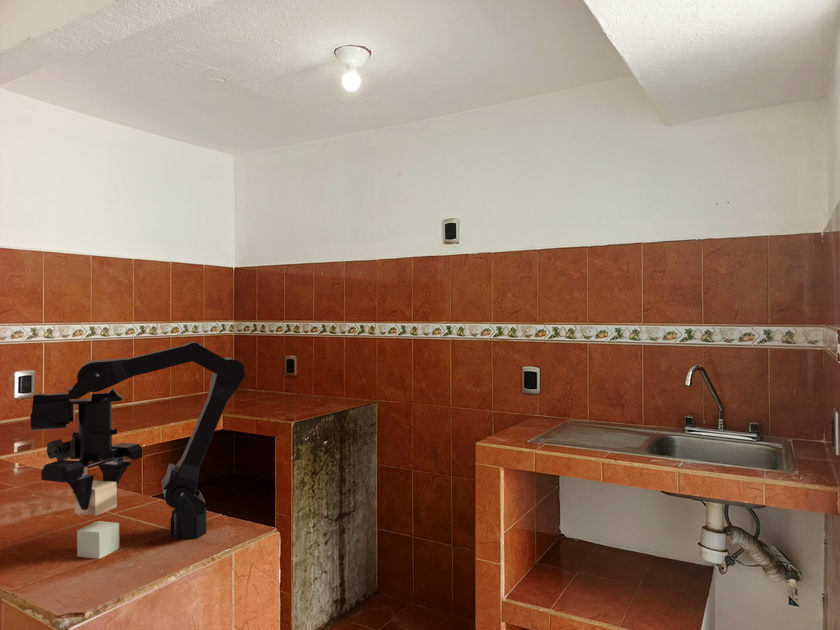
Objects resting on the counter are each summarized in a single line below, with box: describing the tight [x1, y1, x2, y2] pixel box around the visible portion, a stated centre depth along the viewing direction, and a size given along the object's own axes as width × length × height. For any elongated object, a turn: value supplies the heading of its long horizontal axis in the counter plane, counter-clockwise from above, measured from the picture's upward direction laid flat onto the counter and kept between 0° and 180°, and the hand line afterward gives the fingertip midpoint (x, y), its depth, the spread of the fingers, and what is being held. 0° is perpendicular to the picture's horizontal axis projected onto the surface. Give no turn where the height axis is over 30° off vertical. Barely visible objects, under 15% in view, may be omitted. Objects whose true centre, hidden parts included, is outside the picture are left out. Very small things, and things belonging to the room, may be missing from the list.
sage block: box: [76, 520, 120, 560], centre depth 109 cm, size 5×5×5 cm
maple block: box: [74, 479, 118, 517], centre depth 109 cm, size 5×5×5 cm
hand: (96, 504), depth 109 cm, fingers closed on maple block, 5 cm apart
